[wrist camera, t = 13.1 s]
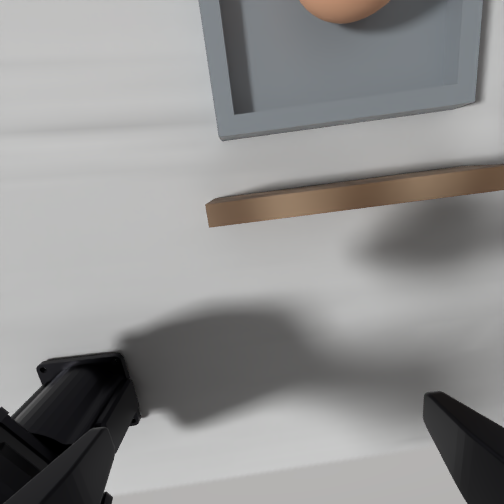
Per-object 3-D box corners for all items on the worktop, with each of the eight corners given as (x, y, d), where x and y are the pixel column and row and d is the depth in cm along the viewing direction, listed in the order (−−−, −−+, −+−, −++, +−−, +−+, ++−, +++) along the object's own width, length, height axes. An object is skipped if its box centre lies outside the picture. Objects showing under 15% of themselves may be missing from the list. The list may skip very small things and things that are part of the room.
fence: (217, 216, 18) (209, 227, 14) (215, 198, 18) (205, 204, 14) (462, 185, 18) (521, 187, 14) (463, 166, 17) (524, 162, 14)
